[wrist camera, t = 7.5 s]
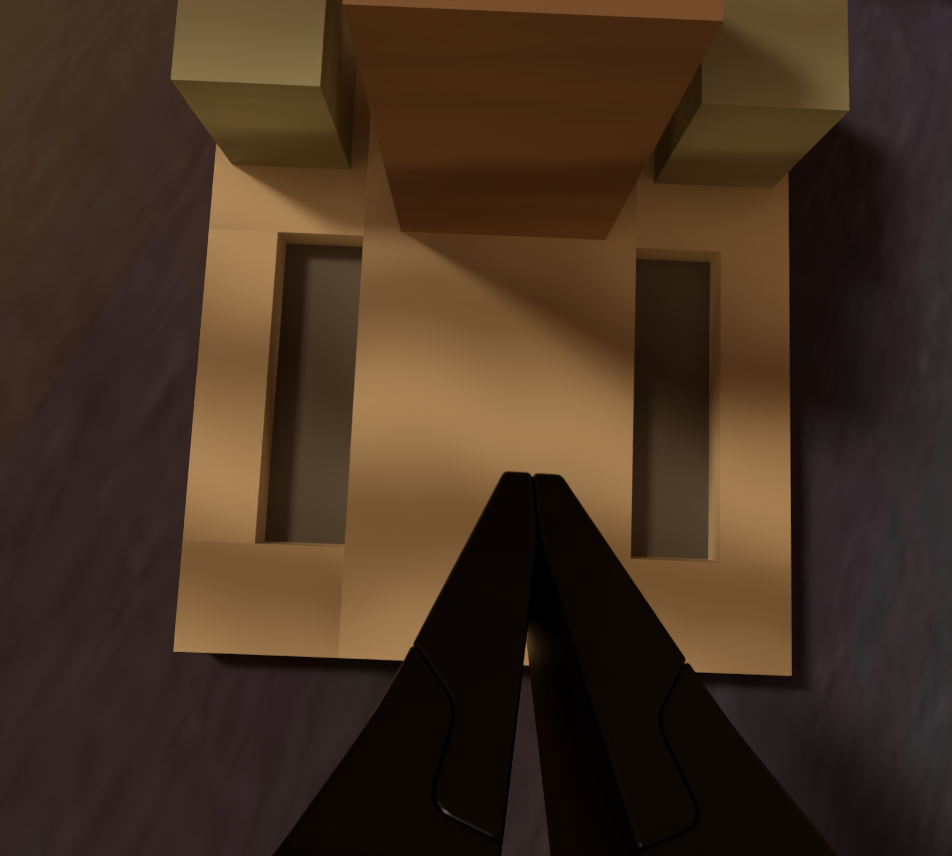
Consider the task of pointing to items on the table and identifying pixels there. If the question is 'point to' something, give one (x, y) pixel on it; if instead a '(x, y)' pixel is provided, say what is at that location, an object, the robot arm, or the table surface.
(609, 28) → the walnut block
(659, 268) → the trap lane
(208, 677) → the table surface
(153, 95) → the table surface
